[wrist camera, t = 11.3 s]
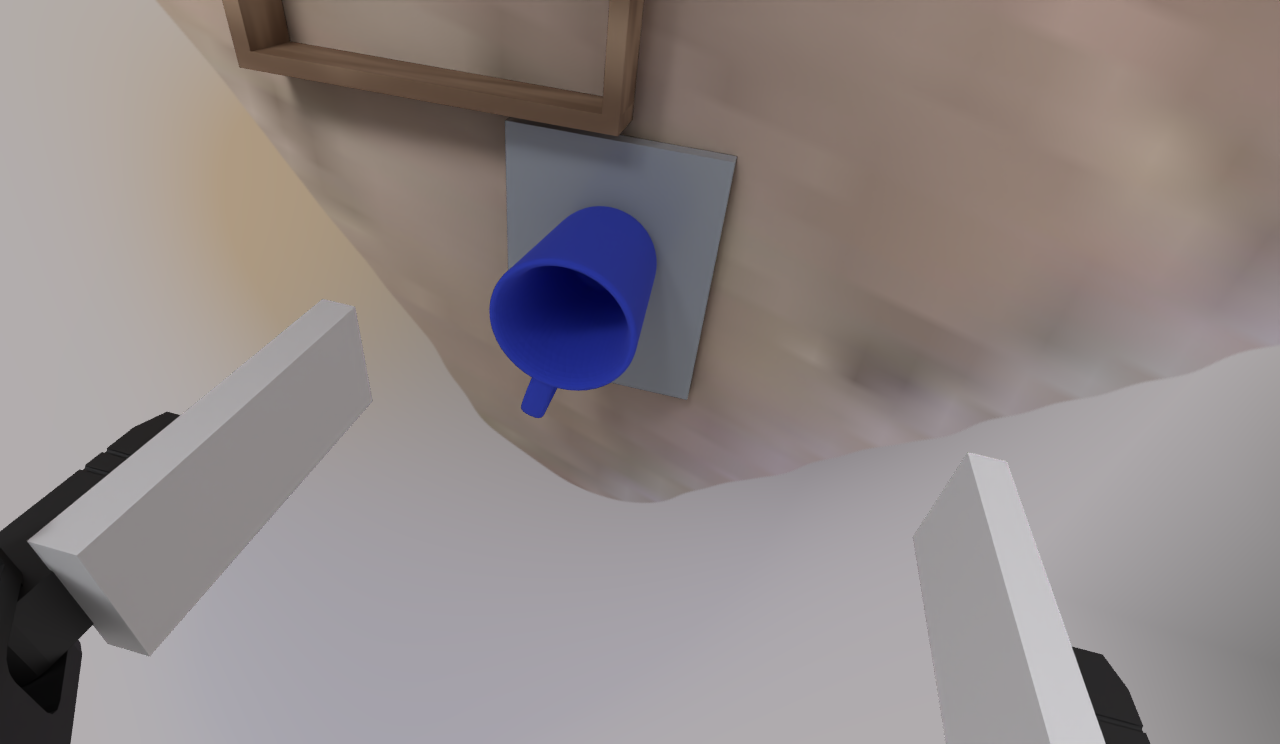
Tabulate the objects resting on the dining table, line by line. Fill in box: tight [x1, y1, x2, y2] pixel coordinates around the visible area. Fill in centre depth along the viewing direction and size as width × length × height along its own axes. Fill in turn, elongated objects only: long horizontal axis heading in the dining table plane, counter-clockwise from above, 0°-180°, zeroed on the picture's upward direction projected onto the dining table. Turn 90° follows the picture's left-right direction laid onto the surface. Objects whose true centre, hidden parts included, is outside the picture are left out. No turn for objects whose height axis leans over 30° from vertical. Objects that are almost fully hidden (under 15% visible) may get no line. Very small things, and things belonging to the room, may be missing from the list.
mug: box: [490, 206, 657, 418], centre depth 38 cm, size 8×12×10 cm
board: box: [505, 117, 737, 400], centre depth 43 cm, size 18×14×1 cm
